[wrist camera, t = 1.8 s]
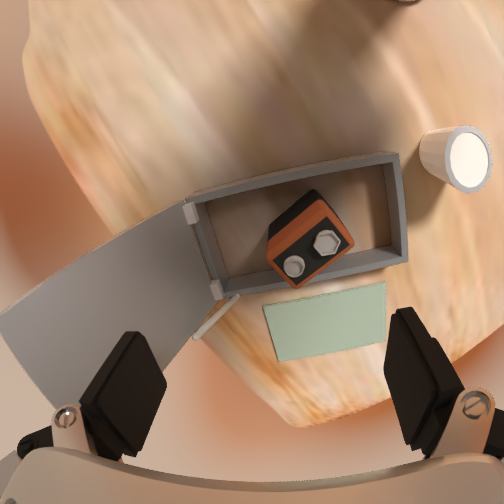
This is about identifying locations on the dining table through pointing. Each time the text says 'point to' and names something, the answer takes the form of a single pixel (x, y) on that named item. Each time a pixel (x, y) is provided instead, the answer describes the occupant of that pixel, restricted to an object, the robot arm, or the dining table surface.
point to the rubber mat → (328, 322)
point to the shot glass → (457, 157)
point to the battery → (306, 239)
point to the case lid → (111, 305)
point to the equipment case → (271, 278)
